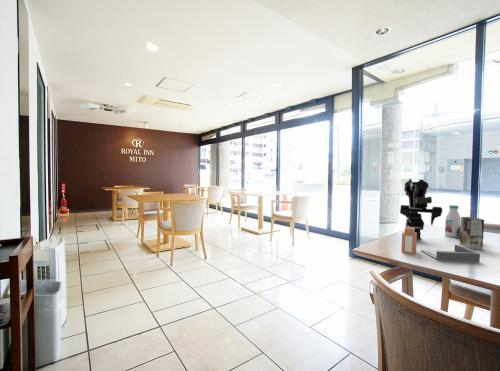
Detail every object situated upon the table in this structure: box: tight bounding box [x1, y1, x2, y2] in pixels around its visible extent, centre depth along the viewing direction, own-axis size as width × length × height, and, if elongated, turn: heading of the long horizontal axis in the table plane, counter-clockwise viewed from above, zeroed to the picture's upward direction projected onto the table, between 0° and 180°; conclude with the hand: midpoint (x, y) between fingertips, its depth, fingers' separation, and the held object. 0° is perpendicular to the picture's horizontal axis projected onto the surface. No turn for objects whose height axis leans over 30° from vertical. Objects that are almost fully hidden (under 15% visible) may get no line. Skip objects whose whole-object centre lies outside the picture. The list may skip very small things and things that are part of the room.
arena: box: [421, 244, 481, 264], centre depth 125 cm, size 14×18×4 cm
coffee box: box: [459, 216, 485, 250], centre depth 142 cm, size 9×6×16 cm
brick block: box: [400, 226, 418, 256], centre depth 132 cm, size 6×6×12 cm
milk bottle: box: [444, 204, 461, 238], centre depth 165 cm, size 8×8×20 cm
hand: (421, 223), depth 135 cm, fingers open, 9 cm apart
